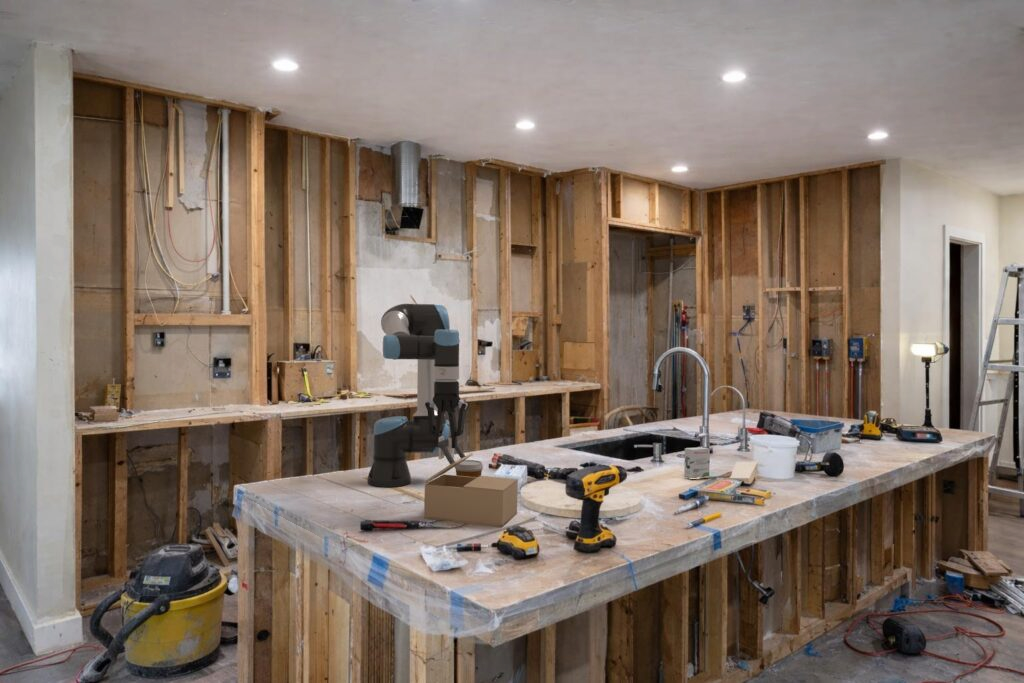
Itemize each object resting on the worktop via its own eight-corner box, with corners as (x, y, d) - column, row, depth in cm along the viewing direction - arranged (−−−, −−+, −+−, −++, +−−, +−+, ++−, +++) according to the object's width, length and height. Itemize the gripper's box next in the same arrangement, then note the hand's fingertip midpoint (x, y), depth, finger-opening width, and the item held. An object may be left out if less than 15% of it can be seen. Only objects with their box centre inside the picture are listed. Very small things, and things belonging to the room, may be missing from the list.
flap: (444, 473, 214) (431, 451, 215) (473, 454, 211) (459, 432, 212) (424, 483, 200) (411, 459, 201) (455, 463, 197) (441, 439, 198)
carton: (443, 506, 214) (444, 472, 214) (516, 513, 208) (517, 479, 207) (424, 518, 200) (424, 482, 200) (502, 527, 193) (503, 489, 193)
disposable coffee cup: (488, 498, 226) (489, 461, 226) (472, 504, 218) (472, 466, 218) (464, 493, 231) (465, 458, 231) (447, 499, 223) (448, 462, 222)
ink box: (701, 476, 269) (702, 446, 268) (709, 479, 264) (710, 448, 264) (683, 477, 265) (684, 447, 265) (691, 480, 261) (692, 449, 260)
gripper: (417, 380, 204) (417, 459, 204) (466, 381, 200) (466, 462, 200) (427, 379, 211) (427, 455, 212) (475, 380, 207) (474, 457, 207)
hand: (446, 458), depth 206 cm, fingers open, 2 cm apart
